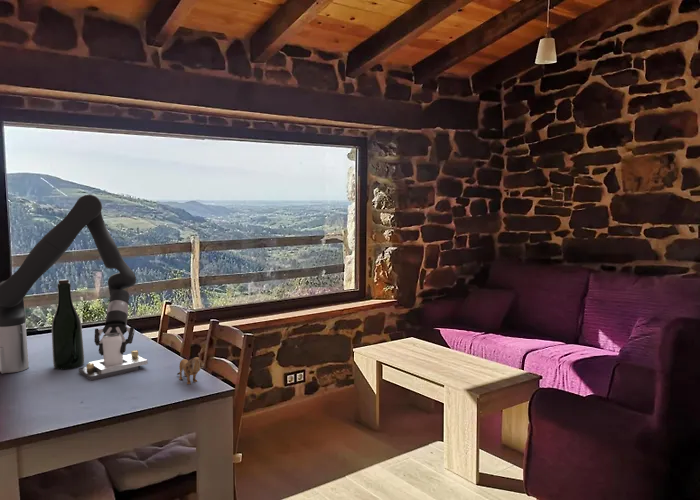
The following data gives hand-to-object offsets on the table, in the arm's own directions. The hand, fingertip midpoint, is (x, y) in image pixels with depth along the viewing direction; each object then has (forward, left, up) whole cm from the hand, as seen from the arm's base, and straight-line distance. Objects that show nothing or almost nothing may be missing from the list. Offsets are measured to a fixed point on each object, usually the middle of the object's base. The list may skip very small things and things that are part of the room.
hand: (111, 353), depth 198 cm
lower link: (-1, +1, -7) cm, 7 cm away
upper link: (+3, +1, -5) cm, 6 cm away
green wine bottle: (-9, +19, -7) cm, 22 cm away
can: (+1, +1, -6) cm, 6 cm away
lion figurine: (+15, -30, -7) cm, 34 cm away
